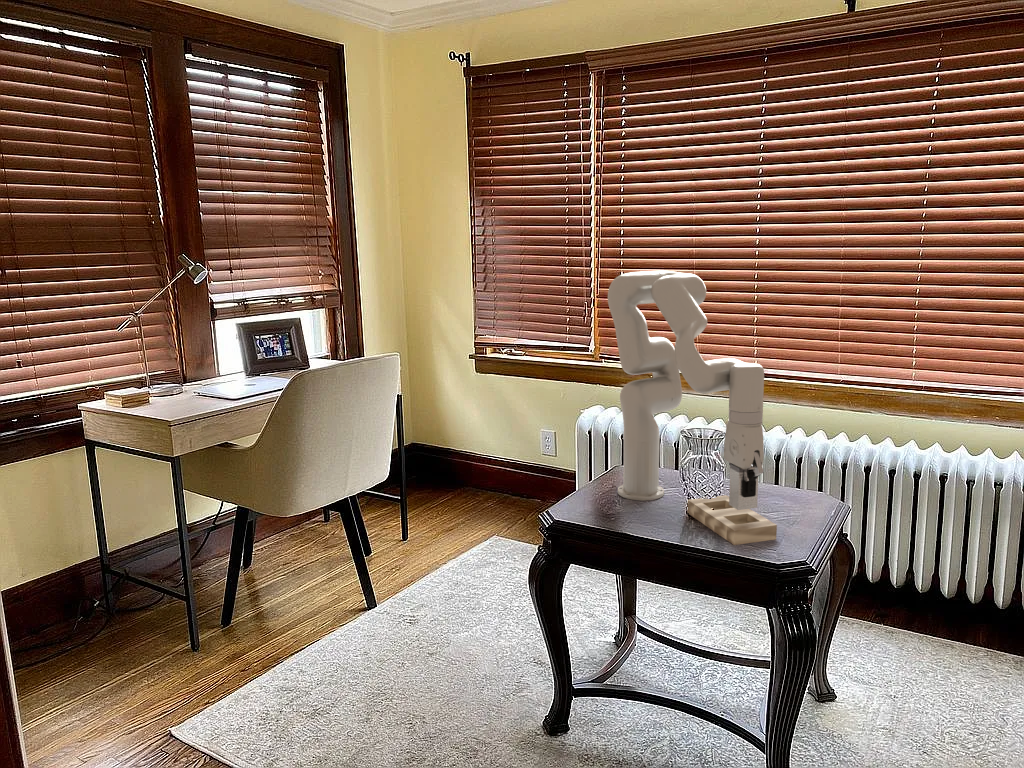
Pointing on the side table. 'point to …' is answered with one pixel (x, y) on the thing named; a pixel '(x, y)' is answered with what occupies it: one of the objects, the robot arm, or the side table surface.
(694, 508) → the tan cinder block
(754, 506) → the white rectangular block
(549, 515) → the side table surface
